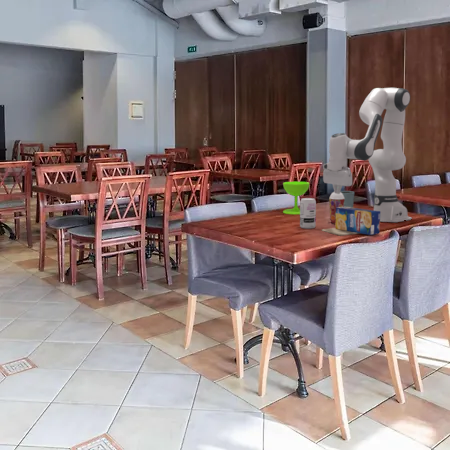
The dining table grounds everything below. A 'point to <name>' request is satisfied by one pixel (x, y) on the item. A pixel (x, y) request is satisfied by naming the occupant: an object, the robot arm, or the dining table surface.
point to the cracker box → (358, 220)
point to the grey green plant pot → (348, 198)
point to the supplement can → (307, 213)
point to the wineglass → (295, 194)
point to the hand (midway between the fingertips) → (337, 193)
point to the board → (339, 232)
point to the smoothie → (335, 204)
